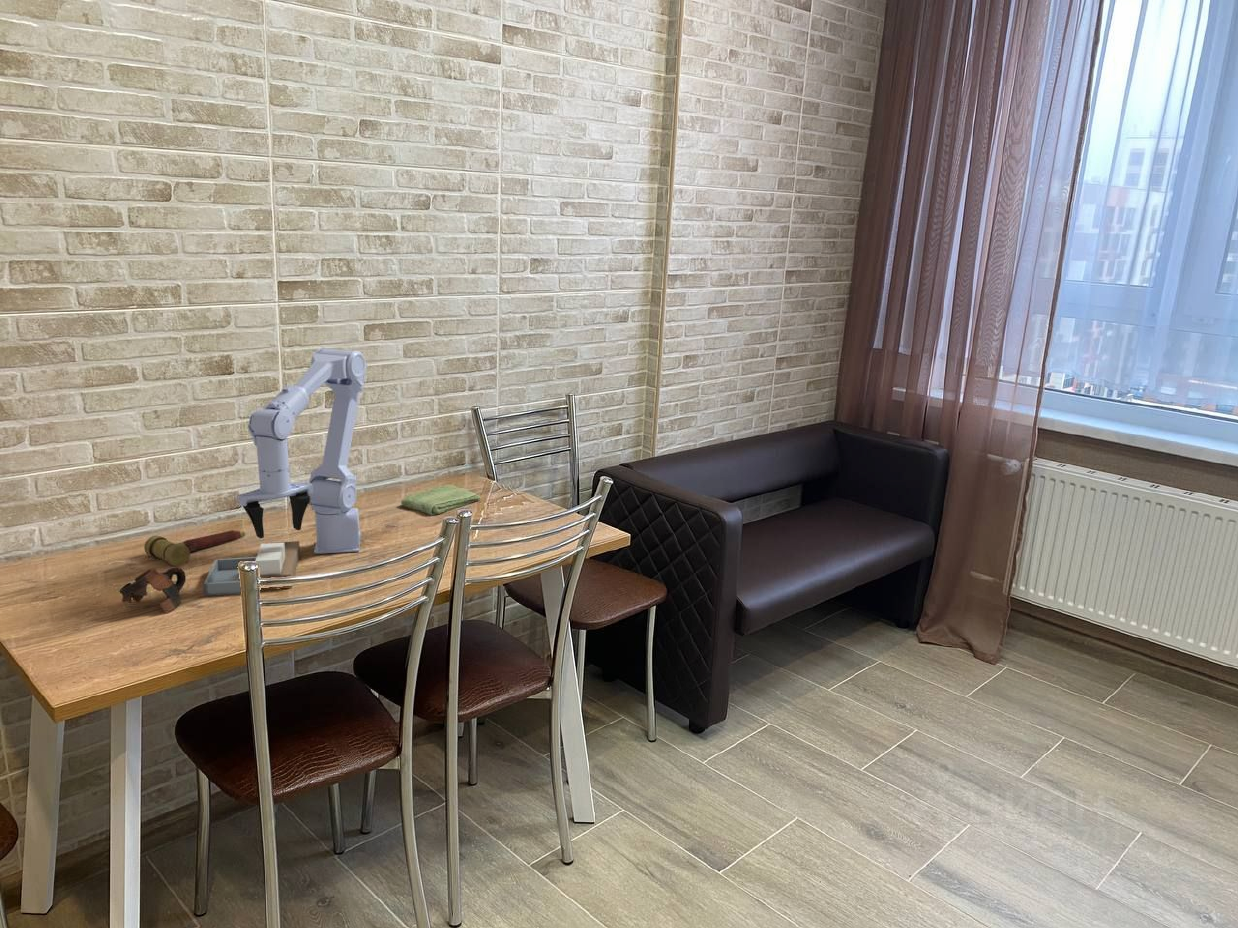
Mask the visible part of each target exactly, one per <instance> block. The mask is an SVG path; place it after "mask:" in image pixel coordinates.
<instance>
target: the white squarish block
mask: <svg viewBox="0 0 1238 928" xmlns="http://www.w3.org/2000/svg"><path fill="white" fill-rule="evenodd" d="M255 557H256V560H255V561H256V562H257V563H258V564H259V567H260V575H268V574H281V570H282V566H283V561H282V551H281V552H264V553H259V552H257V556H255Z"/></svg>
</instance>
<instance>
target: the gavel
mask: <svg viewBox="0 0 1238 928" xmlns="http://www.w3.org/2000/svg"><path fill="white" fill-rule="evenodd" d="M246 535H247V532H246V531H241V530H228V531H223V532H219V533H215V534H214V533H213V534H209V535H205V536H199V537H195V538H191V539H188V540H187V539H186V540H184V541H182V542H178V543H174V542H172V541H170V540H168V539H167V538H166V537H163V536H161V535H152V536H150V537H148V538H147V539H146V541H145V542H144V553H146V555H148V556H149V557H152V558H154V559H155V558H158V559H161V560H163V561H164V562H167V564H169V565H171V566H174V567H178V566H181V565H184V564H187V562H189V559H190V556H191V552H193V551H198V550H202V549H206V548H213V547H215V546H220V545H223V544H227V543H230V542H231V543H232V542H234V541H235V542H236V541H237V540H239V539H240V538H242V537H244V536H246Z"/></svg>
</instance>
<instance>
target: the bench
mask: <svg viewBox="0 0 1238 928" xmlns="http://www.w3.org/2000/svg"><path fill="white" fill-rule="evenodd" d="M266 543H267V542H265V543H264V544H266ZM274 543H284V544H285V559H284V563H283V566H282V570H281V574H268V575H260V577H261V578H271V577H287V576H295V577H296V573H295V572H297V569H296V567H297V568H298V564H299V561H300V556H301V549H300V540H297V541H296V540H295V541H280V542H279V541H277V542H274ZM297 563H298V564H297ZM277 588H291V589H292V588H293V585H292V586H283V587H269V588H261V591H273V590H275V591H276V590H278V589H277Z"/></svg>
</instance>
